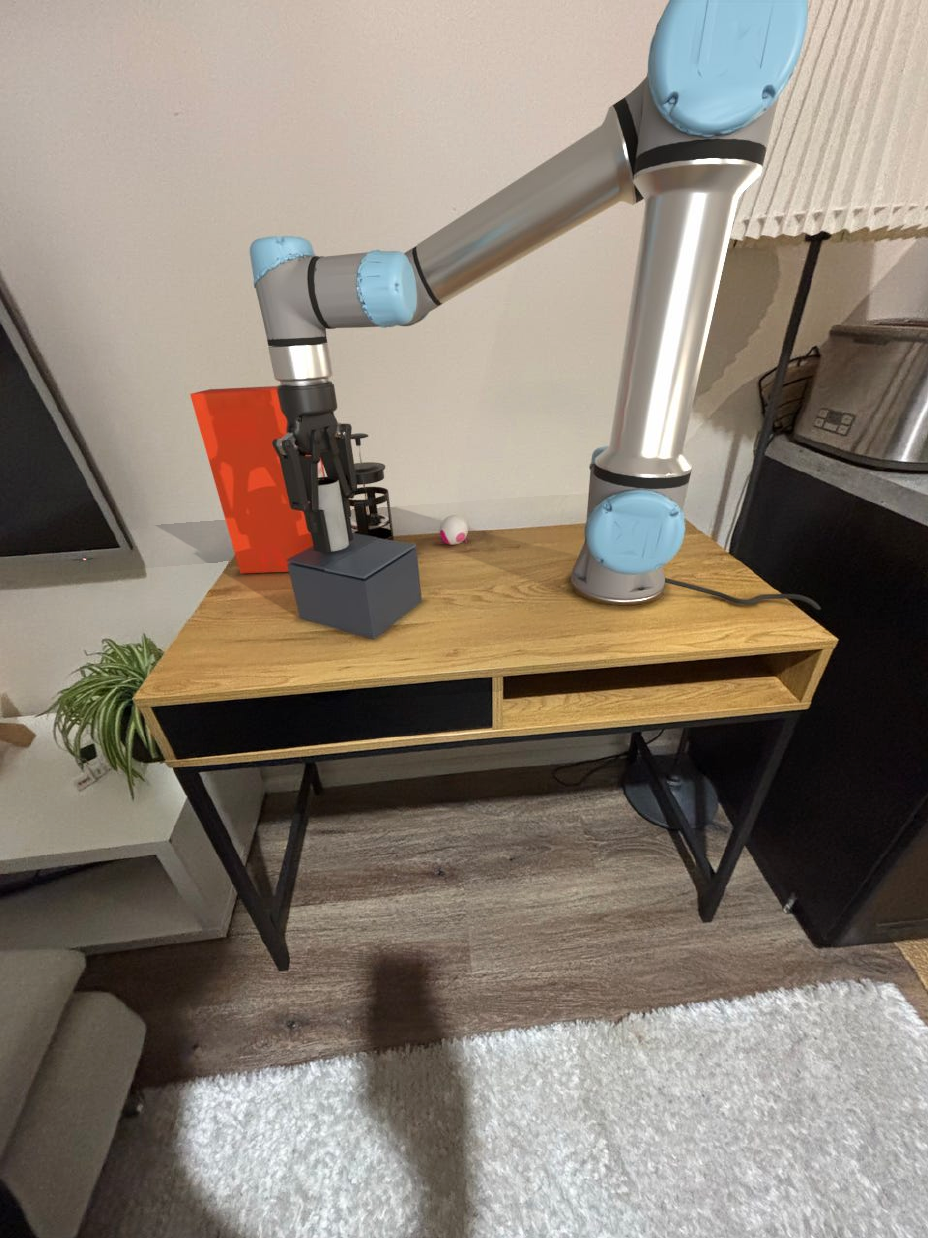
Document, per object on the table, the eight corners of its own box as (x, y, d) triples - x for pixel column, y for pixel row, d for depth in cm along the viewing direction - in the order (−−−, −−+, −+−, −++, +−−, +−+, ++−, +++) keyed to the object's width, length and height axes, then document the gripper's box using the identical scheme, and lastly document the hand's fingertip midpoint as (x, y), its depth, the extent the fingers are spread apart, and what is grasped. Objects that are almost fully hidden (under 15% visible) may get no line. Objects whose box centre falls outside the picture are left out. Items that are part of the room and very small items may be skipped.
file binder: (255, 557, 106) (210, 388, 90) (339, 554, 105) (308, 383, 89) (240, 574, 99) (188, 394, 83) (330, 571, 98) (295, 388, 82)
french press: (357, 540, 111) (339, 429, 100) (399, 539, 111) (387, 427, 99) (343, 563, 101) (322, 442, 90) (390, 562, 101) (375, 440, 89)
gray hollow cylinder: (342, 552, 78) (330, 485, 73) (314, 551, 79) (301, 484, 74) (353, 541, 82) (343, 476, 77) (327, 540, 83) (315, 476, 78)
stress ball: (444, 551, 112) (425, 529, 109) (473, 529, 111) (454, 505, 108) (448, 564, 106) (428, 540, 103) (479, 540, 104) (459, 515, 101)
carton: (421, 601, 86) (416, 543, 81) (374, 639, 76) (364, 576, 71) (352, 585, 92) (342, 531, 87) (299, 618, 83) (285, 559, 78)
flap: (415, 546, 81) (415, 543, 81) (364, 579, 71) (363, 576, 71) (378, 540, 84) (378, 537, 84) (324, 570, 74) (324, 568, 74)
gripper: (328, 374, 77) (352, 523, 89) (231, 389, 64) (274, 562, 75) (368, 374, 74) (387, 529, 85) (274, 390, 60) (312, 570, 72)
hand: (334, 544), depth 80 cm, fingers closed on gray hollow cylinder, 5 cm apart
